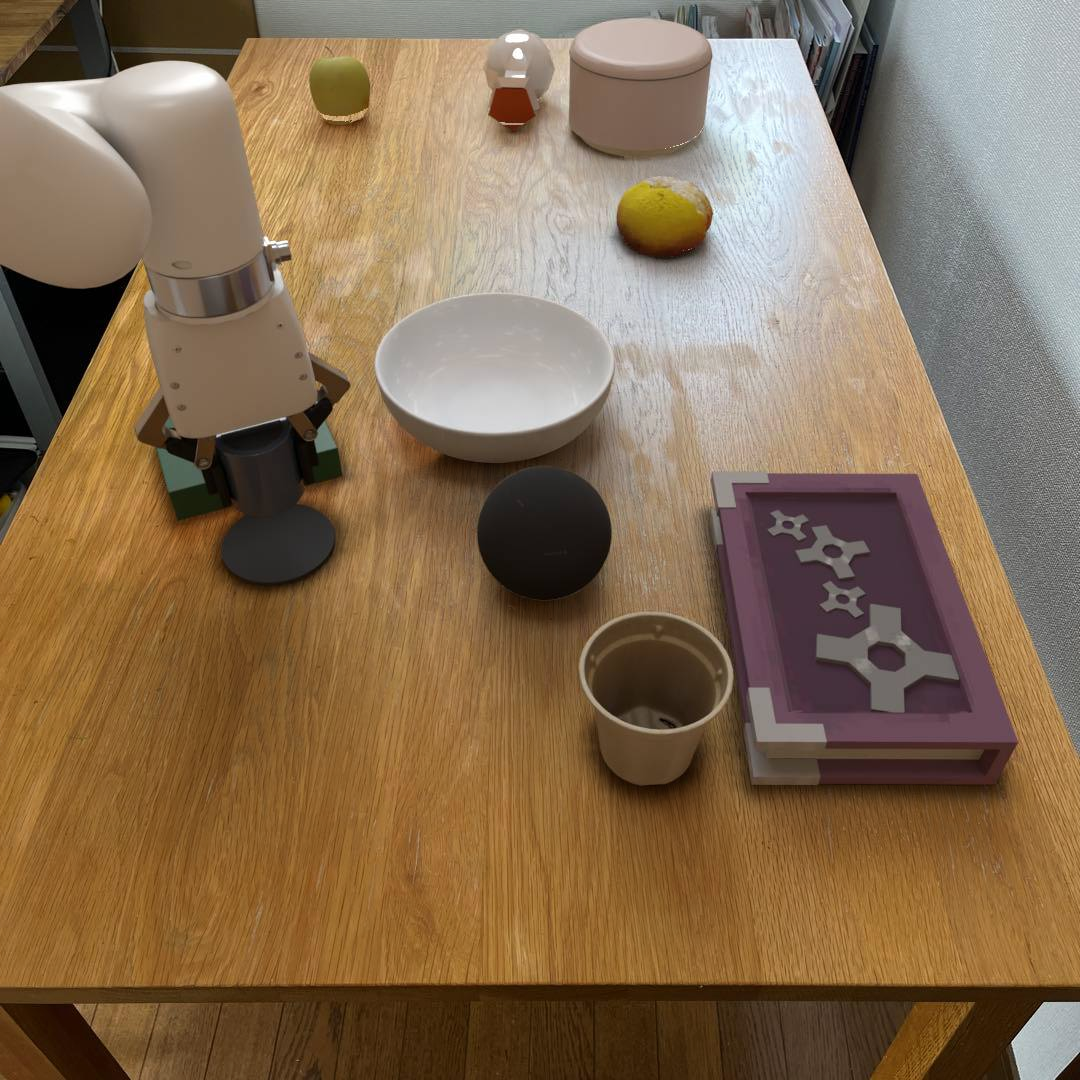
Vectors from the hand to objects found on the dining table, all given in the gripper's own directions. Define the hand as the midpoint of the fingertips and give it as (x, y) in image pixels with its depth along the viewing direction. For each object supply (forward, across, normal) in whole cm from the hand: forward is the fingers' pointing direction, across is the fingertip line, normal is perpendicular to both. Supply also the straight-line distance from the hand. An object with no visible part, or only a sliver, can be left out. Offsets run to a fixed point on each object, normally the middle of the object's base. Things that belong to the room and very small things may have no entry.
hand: (265, 482), depth 79 cm
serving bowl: (+7, -22, -8) cm, 24 cm away
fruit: (+7, -52, -31) cm, 61 cm away
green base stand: (+7, 0, -11) cm, 13 cm away
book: (+7, -35, +26) cm, 44 cm away
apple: (+7, -27, -77) cm, 82 cm away
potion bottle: (+7, -50, -70) cm, 86 cm away
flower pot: (+7, -18, +29) cm, 35 cm away
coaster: (+7, 0, 0) cm, 7 cm away
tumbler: (+1, 0, 0) cm, 1 cm away
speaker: (+7, -18, +12) cm, 23 cm away
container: (+7, -62, -57) cm, 85 cm away
